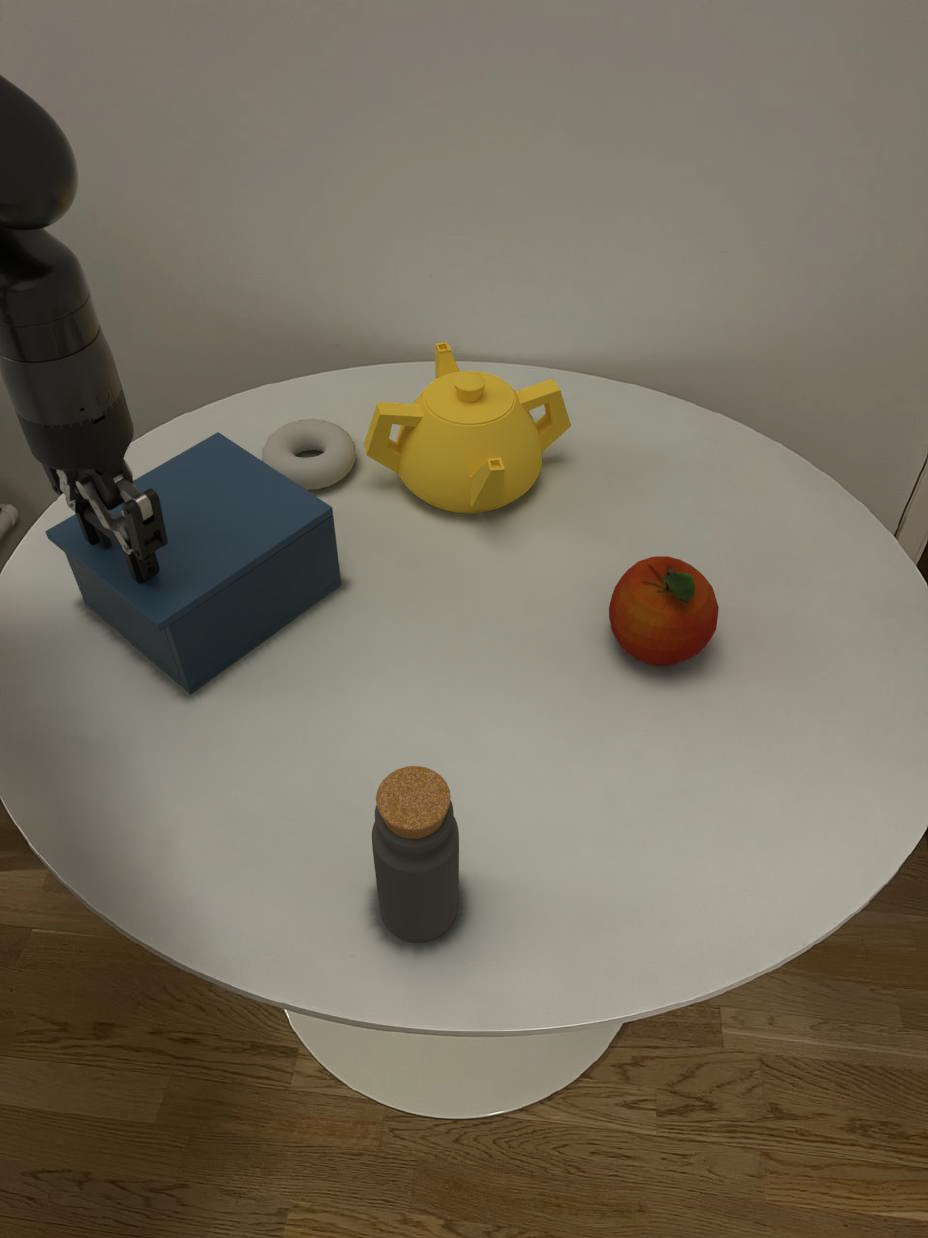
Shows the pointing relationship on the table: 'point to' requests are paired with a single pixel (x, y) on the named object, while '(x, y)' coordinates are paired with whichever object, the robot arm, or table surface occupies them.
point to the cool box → (227, 609)
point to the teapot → (468, 437)
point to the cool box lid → (199, 528)
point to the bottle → (416, 854)
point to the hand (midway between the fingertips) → (123, 557)
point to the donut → (310, 437)
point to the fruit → (663, 611)
